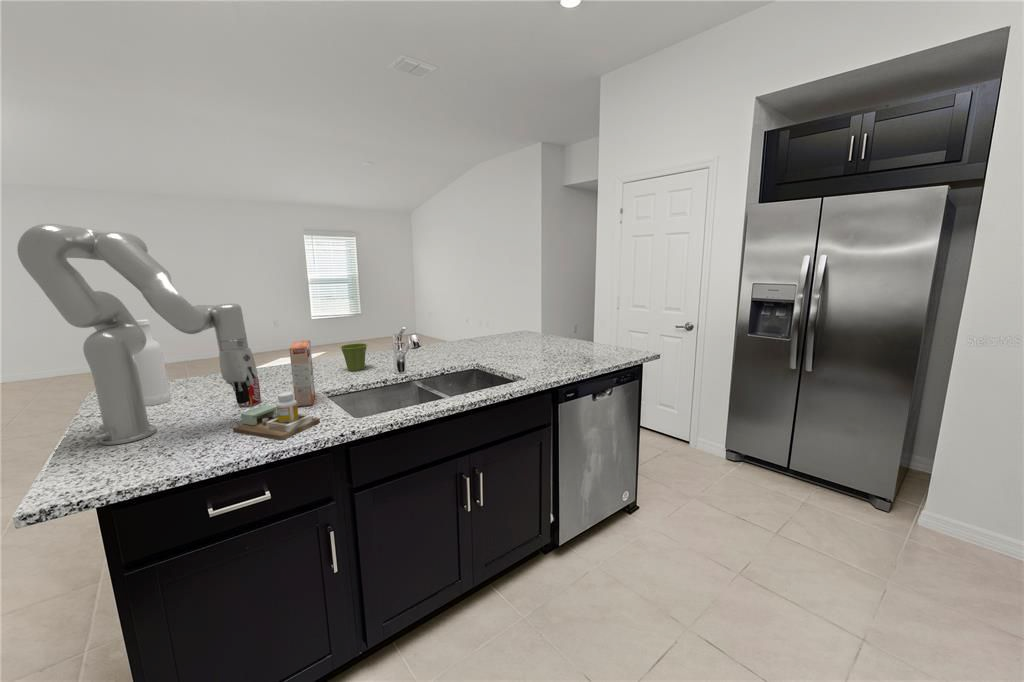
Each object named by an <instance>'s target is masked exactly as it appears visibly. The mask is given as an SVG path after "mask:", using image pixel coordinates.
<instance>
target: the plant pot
mask: <svg viewBox="0 0 1024 682" xmlns="http://www.w3.org/2000/svg"><path fill="white" fill-rule="evenodd" d="M367 346H368V344H367V343H363V342H362V343H361V342H358V343H357V342H356V343H349V344H343V345H341V346H339V348H340V349H341V352H342V354H343V357H344V361H345V364H346V368H347V370H348V371H351V372H360V371H361V370H364V369H365V368H366V352H367Z"/></svg>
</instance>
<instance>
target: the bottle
mask: <svg viewBox="0 0 1024 682" xmlns="http://www.w3.org/2000/svg"><path fill="white" fill-rule="evenodd" d="M135 320H136V319H135ZM136 322H137V323H138V324H139V326H140V327H141V329H142V330H143V332H144V334H145V336H146V345H145V347H144V349H143V350H142V351H140V352H139V353H137V354H135V355H133V359H134V362H135V364H136V366H137V368H138V371H139V375H140V380H141V385H142V390H143V396H144V401H145V406H146V407H149V406H151V407H152V406H158V405H162V404H166V403H168V402H170V401H171V392H170V388H169V384H168V383H169V382H168V377H167V371H166V370H167V369H166V365H165V361H164V354H163V349H162V346H161V344H160V343H159V342H158V341H157V340H154V339H153V334H152V330H151V323H150V320H149V319H137V320H136Z"/></svg>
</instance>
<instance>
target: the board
mask: <svg viewBox="0 0 1024 682" xmlns="http://www.w3.org/2000/svg"><path fill="white" fill-rule="evenodd" d="M298 417H299V420H297V421H294V422H292V423H290V424H284V423H278V415H277V414H273V417H270V416H263V417H261V418H258V419H257V425H248V424H242V423H241V424H240V425H237V426H234V427H233V428H232V431H233V433H237V434H238V433H239V434H243V435H249V436H255V437H260V438H265V439H266V438H267V439H273V440H276V441H277V440H278V441H283V440H285V439H287V438H289V437H292V436H294V435H296V434H298V433H300V432H302V431H305V430H307V429H309V428H311V427H313V426H315V425H317V424H320V423H321V419H320V418H317V417H312V415H309V414H304V413H298Z"/></svg>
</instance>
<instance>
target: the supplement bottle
mask: <svg viewBox="0 0 1024 682" xmlns="http://www.w3.org/2000/svg"><path fill="white" fill-rule="evenodd" d="M277 400H278V401H276V403H275V407H276V409H277V415H278V423H284V424H290V423H292V422H294V421H297V420H299V417H298V414H299V410H298V407H297V402H296V400H295V398H294V392H293V391H292V392H291V391H285V392H281V393H279V394H277Z"/></svg>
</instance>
